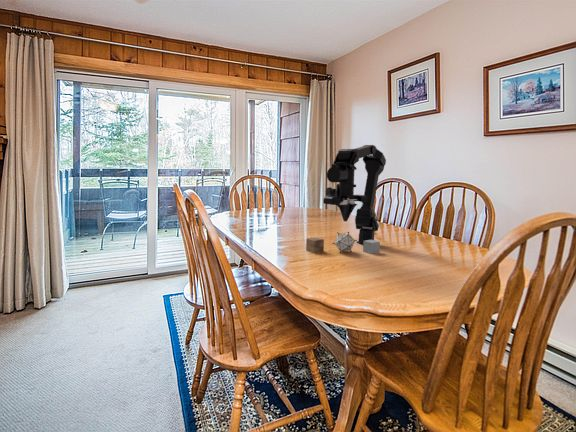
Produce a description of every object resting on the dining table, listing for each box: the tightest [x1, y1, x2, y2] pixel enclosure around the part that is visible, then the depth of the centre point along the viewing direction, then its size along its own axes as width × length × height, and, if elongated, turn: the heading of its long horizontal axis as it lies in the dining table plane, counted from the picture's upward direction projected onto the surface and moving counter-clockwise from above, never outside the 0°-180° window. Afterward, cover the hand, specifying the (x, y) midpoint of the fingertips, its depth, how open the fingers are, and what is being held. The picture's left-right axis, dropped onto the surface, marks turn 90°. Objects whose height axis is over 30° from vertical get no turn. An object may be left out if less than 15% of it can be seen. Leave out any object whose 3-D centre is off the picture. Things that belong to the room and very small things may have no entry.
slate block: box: [362, 239, 381, 255], centre depth 141 cm, size 4×4×4 cm
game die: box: [332, 231, 358, 254], centre depth 141 cm, size 9×8×10 cm
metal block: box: [305, 236, 325, 254], centre depth 142 cm, size 5×5×5 cm
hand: (345, 221), depth 140 cm, fingers closed
